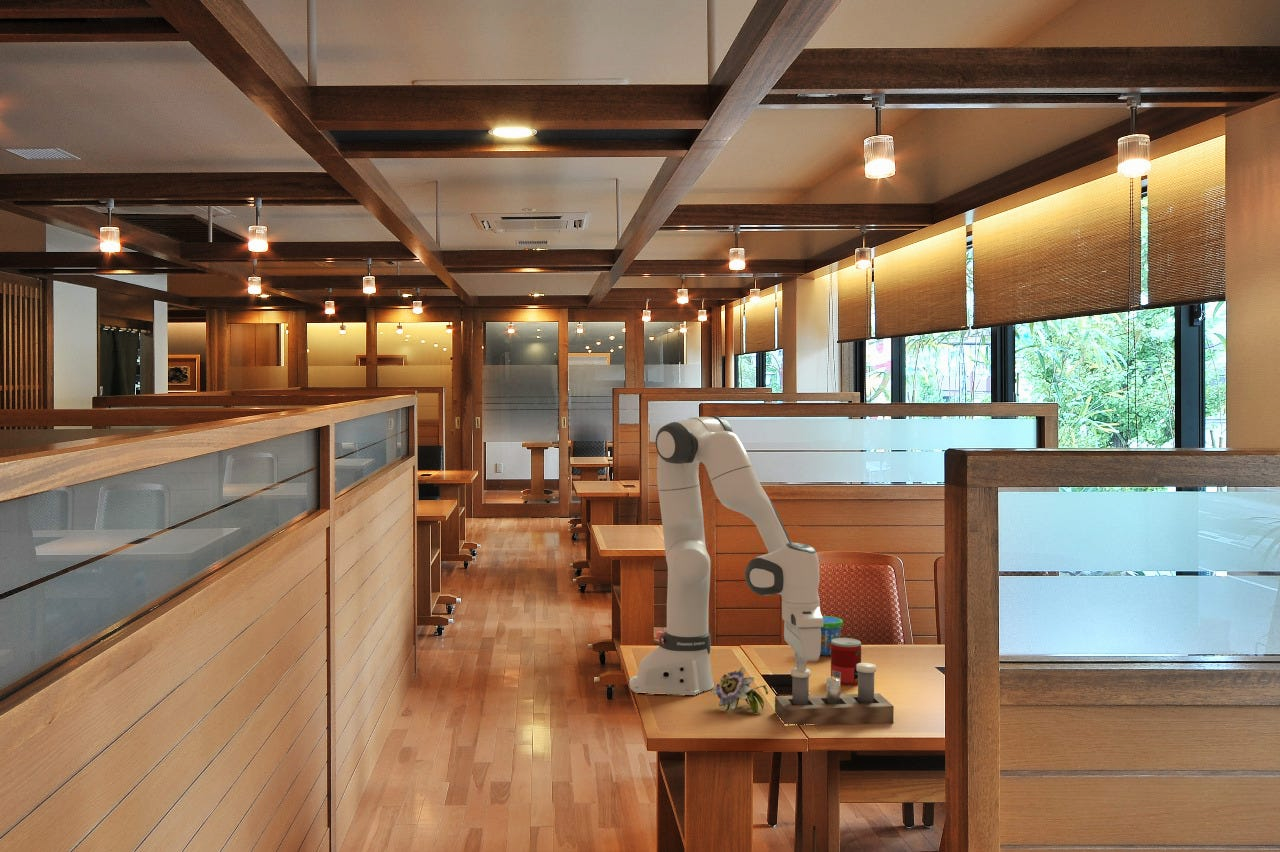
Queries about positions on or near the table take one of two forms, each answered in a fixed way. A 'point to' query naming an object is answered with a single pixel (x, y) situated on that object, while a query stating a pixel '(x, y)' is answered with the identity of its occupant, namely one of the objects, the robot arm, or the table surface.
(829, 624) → the snack cup
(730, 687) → the passion flower
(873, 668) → the knob right
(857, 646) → the canned food
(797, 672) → the knob left
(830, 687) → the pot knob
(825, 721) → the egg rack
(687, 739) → the table surface
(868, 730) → the table surface
